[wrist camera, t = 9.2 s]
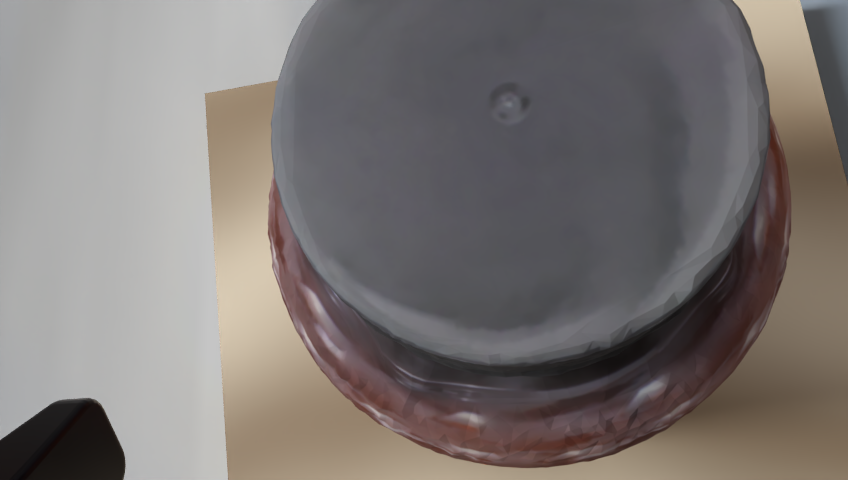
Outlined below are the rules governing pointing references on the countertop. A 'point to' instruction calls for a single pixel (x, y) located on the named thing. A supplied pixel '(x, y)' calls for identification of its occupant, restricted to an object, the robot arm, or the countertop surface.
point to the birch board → (609, 476)
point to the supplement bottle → (527, 215)
